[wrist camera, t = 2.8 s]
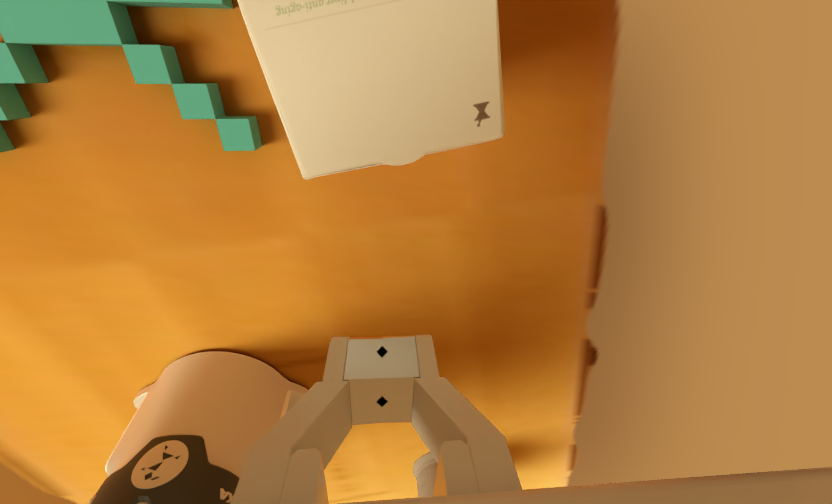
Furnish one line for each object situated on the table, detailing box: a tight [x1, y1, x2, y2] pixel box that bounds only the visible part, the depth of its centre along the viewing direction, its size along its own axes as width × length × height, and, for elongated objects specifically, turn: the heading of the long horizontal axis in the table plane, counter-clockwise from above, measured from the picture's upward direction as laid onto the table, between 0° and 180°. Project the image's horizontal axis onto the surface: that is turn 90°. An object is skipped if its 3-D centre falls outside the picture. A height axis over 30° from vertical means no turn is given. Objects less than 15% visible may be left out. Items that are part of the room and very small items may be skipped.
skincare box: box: [237, 0, 505, 179], centre depth 18 cm, size 8×7×16 cm
